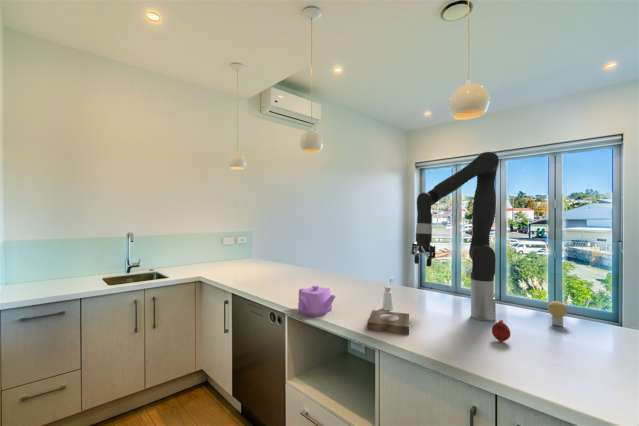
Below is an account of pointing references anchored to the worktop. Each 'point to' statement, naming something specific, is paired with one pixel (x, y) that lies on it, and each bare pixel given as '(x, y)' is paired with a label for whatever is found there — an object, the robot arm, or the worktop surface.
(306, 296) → the teakettle
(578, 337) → the worktop surface
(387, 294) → the pepper shaker
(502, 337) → the onion
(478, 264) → the robot arm
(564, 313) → the light bulb
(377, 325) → the walnut plinth
